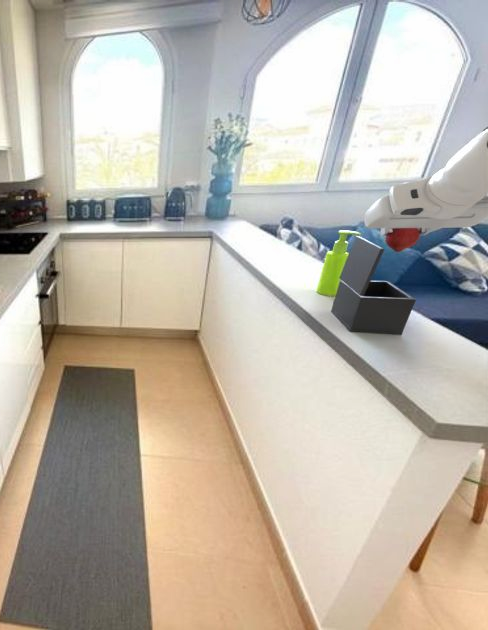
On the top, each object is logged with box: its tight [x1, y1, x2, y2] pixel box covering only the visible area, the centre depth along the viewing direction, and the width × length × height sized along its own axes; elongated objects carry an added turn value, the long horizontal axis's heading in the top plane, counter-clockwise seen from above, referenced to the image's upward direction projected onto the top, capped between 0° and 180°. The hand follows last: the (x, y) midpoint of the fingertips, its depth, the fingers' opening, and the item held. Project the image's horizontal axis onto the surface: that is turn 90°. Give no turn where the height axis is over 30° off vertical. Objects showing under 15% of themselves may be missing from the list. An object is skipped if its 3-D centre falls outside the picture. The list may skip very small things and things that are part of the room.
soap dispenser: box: [316, 230, 362, 297], centre depth 107 cm, size 6×7×20 cm
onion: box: [384, 228, 421, 253], centre depth 82 cm, size 6×6×8 cm
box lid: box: [339, 235, 385, 296], centre depth 88 cm, size 12×13×1 cm
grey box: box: [330, 280, 417, 336], centre depth 91 cm, size 11×13×10 cm
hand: (401, 233), depth 83 cm, fingers closed on onion, 5 cm apart
